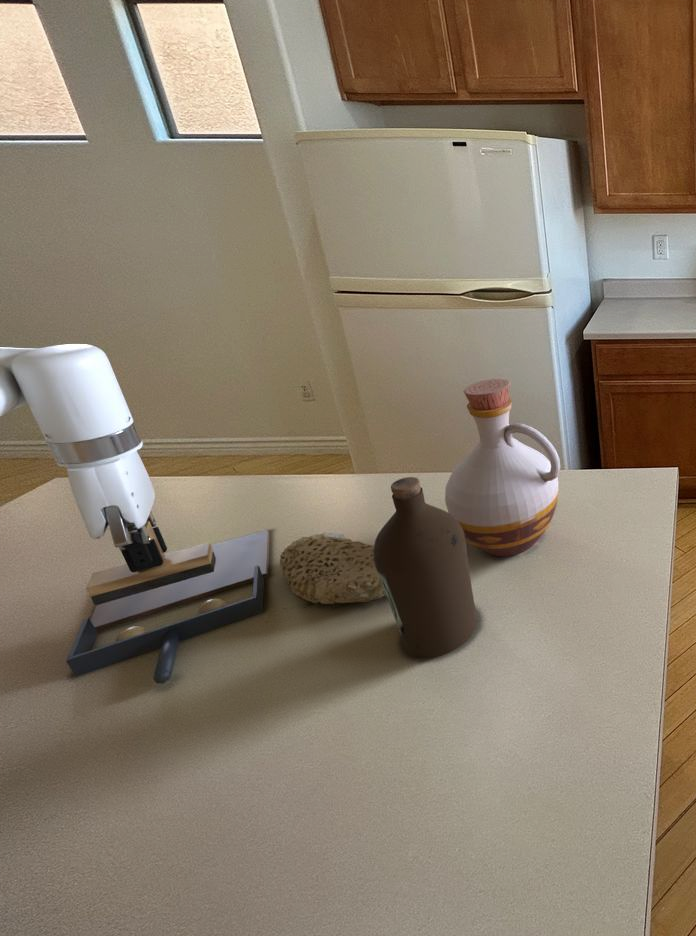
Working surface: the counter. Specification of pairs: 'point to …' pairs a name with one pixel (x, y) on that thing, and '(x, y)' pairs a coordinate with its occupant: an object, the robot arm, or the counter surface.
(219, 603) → the ball
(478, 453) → the jug
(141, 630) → the ball
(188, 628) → the dustpan
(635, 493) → the counter surface
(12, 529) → the counter surface
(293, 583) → the sponge
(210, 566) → the brush
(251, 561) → the board
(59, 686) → the counter surface
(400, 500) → the olive oil
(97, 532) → the robot arm
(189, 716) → the counter surface
